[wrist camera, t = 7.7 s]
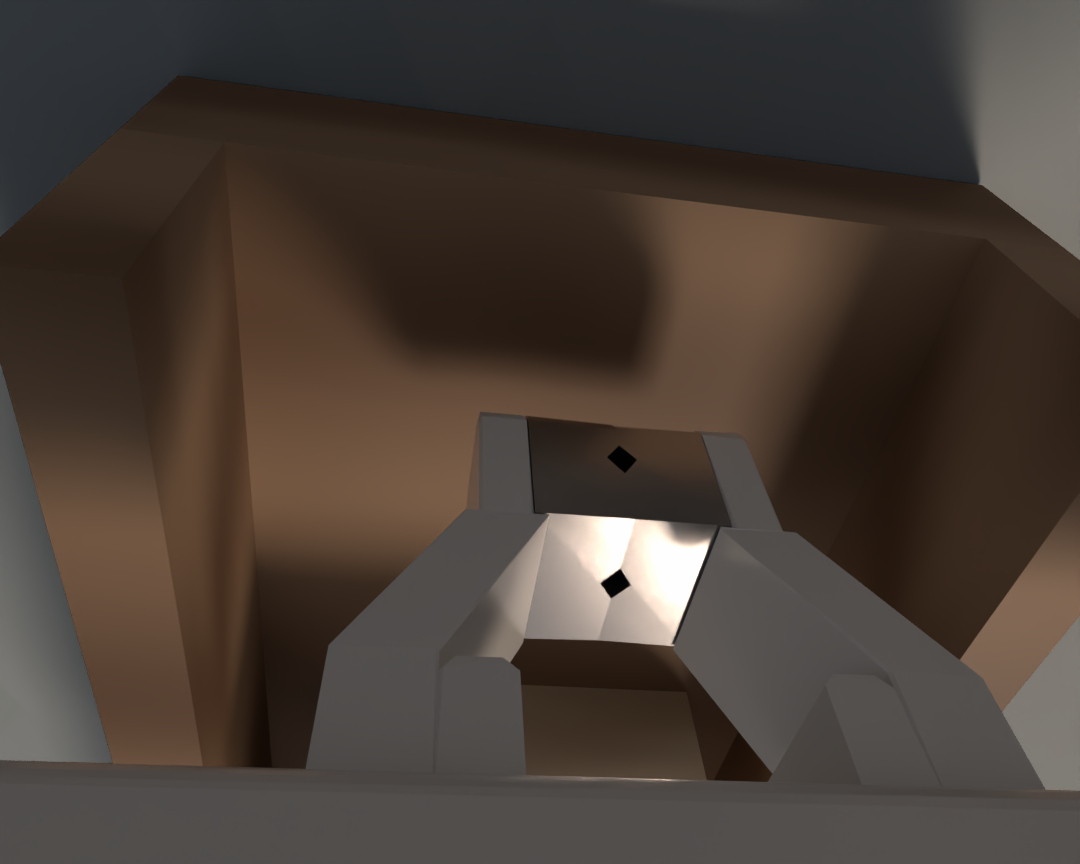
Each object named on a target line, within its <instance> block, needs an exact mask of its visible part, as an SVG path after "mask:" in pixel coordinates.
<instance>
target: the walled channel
mask: <svg viewBox="0 0 1080 864" xmlns="http://www.w3.org/2000/svg"><path fill="white" fill-rule="evenodd" d="M0 363H1V366H2V370H3V373H4V377H5V380H6V384H7V388H8V391H9V395H10V398H11V402H12V405H13V409H14V412H15V416H16V420H17V423H18V427H19V430H20V434H21V437H22V441H23V444H24V448H25V452H26V455H27V459H28V462H29V466H30V469H31V473H32V476H33V480H34V484H35V487H36V491H37V494H38V498H39V501H40V505H41V508H42V512H43V516H44V519H45V523H46V526H47V530H48V533H49V537H50V540H51V544H52V548H53V551H54V555H55V558H56V562H57V565H58V569H59V573H60V576H61V580H62V583H63V587H64V590H65V594H66V597H67V601H68V605H69V608H70V612H71V615H72V619H73V622H74V626H75V629H76V633H77V637H78V640H79V644H80V647H81V651H82V654H83V658H84V661H85V665H86V669H87V672H88V676H89V679H90V683H91V686H92V690H93V693H94V697H95V701H96V704H97V708H98V711H99V715H100V718H101V722H102V725H103V729H104V733H105V736H106V740H107V743H108V747H109V750H110V754H111V757H112V761H113V763H117V764H153V765H188V766H223V767H258V768H294V769H305V768H306V763H307V758H308V752H309V747H310V742H311V736H312V731H313V726H314V720H315V715H316V710H317V704H318V699H319V694H320V688H321V683H322V677H323V672H324V667H325V661H326V656H327V651H328V645H329V644H330V643H331V642H332V641H333V640H334V639H335V638H336V637H337V636H338V635H339V634H340V633H341V632H342V631H343V630H344V629H345V628H346V627H347V626H348V625H349V624H350V623H351V622H352V621H353V620H354V619H355V618H356V617H357V616H358V615H359V614H360V613H361V612H362V611H363V610H364V609H365V608H366V607H367V606H368V605H369V604H370V603H371V602H372V601H373V600H374V599H375V598H377V597H378V596H379V595H380V594H381V593H382V592H383V591H384V590H385V589H386V588H387V587H388V586H389V585H390V584H391V583H392V582H393V581H394V580H395V579H396V578H397V577H398V576H399V575H400V574H401V573H402V572H403V571H404V570H405V569H406V568H407V567H408V566H409V565H410V564H411V563H412V562H413V561H414V560H415V559H416V558H417V557H418V556H419V555H420V554H421V553H422V552H423V551H424V550H425V549H426V548H427V547H428V546H429V545H430V544H431V543H432V542H433V541H434V540H435V539H436V538H437V537H438V536H439V535H440V534H441V533H442V532H443V531H444V530H445V529H446V528H447V527H448V526H449V525H450V524H451V523H452V522H453V521H454V520H455V519H456V518H457V517H458V516H459V515H460V514H461V513H462V512H463V511H464V510H465V509H466V505H467V494H468V486H469V478H470V471H471V463H472V456H473V448H474V441H475V433H476V426H477V420H478V417H479V413H480V412H491V413H502V414H513V415H523V416H524V417H525V416H534V417H543V418H552V419H562V420H571V421H580V422H589V423H599V424H608V425H612V426H621V427H633V428H646V429H659V430H672V431H684V432H695V431H703V432H721V433H738V434H739V435H740V436H742V437H743V438H744V439H745V442H746V444H747V446H748V449H749V451H750V453H751V456H752V458H753V461H754V463H755V465H756V468H757V470H758V472H759V475H760V477H761V480H762V482H763V484H764V487H765V489H766V492H767V494H768V496H769V499H770V501H771V503H772V506H773V508H774V511H775V513H776V515H777V518H778V520H779V522H780V525H781V527H782V530H783V531H784V532H796V533H797V534H799V535H800V536H801V537H802V538H804V539H805V540H806V541H808V542H809V543H810V544H811V545H813V546H814V547H815V548H817V549H818V550H819V551H820V552H822V553H823V554H824V555H826V556H827V557H828V558H829V559H831V560H832V561H833V562H835V563H836V564H837V565H838V566H840V567H841V568H842V569H843V570H845V571H846V572H847V573H849V574H850V575H851V576H852V577H854V578H855V579H856V580H858V581H859V582H860V583H861V584H863V585H864V586H865V587H867V588H868V589H869V590H870V591H872V592H873V593H874V594H876V595H877V596H878V597H879V598H881V599H882V600H883V601H884V602H886V603H887V604H888V605H890V606H891V607H892V608H893V609H895V610H896V611H897V612H899V613H900V614H901V615H902V616H904V617H905V618H906V619H908V620H909V621H910V622H911V623H913V624H914V625H915V626H917V627H918V628H919V629H920V630H922V631H923V632H924V633H925V634H927V635H928V636H929V637H931V638H932V639H933V640H934V641H936V642H937V643H938V644H940V645H941V646H942V647H943V648H945V649H946V650H947V651H949V652H950V653H951V654H952V655H954V656H955V657H956V658H958V659H959V660H960V661H961V662H963V663H964V664H965V665H966V666H968V667H969V668H970V669H972V670H973V671H974V672H975V673H977V674H978V675H979V676H981V677H982V678H983V680H984V681H985V683H986V685H987V687H988V689H989V690H990V692H991V694H992V696H993V697H994V699H995V701H996V703H997V704H998V706H999V708H1000V710H1001V712H1002V711H1003V710H1004V708H1005V707H1006V706H1007V705H1008V703H1009V702H1010V701H1011V700H1012V699H1013V697H1014V696H1015V695H1016V694H1017V692H1018V691H1019V690H1020V689H1021V687H1022V686H1023V685H1024V684H1025V682H1026V681H1027V680H1028V679H1029V678H1030V676H1031V675H1032V674H1033V673H1034V671H1035V670H1036V669H1037V668H1038V666H1039V665H1040V664H1041V663H1042V661H1043V660H1044V659H1045V658H1046V657H1047V655H1048V654H1049V653H1050V652H1051V650H1052V649H1053V648H1054V647H1055V645H1056V644H1057V643H1058V642H1059V641H1060V639H1061V638H1062V637H1063V636H1064V634H1065V633H1066V632H1067V631H1068V629H1069V628H1070V627H1071V626H1072V624H1073V623H1074V622H1075V621H1076V620H1077V618H1078V617H1079V616H1080V260H1079V259H1077V258H1076V257H1075V256H1074V255H1072V254H1071V253H1070V252H1068V251H1067V250H1066V249H1064V248H1063V247H1062V246H1061V245H1059V244H1058V243H1057V242H1055V241H1054V240H1053V239H1051V238H1050V237H1049V236H1048V235H1046V234H1045V233H1044V232H1042V231H1041V230H1040V229H1038V228H1037V227H1036V226H1035V225H1033V224H1032V223H1031V222H1029V221H1028V220H1027V219H1025V218H1024V217H1023V216H1022V215H1020V214H1019V213H1018V212H1016V211H1015V210H1014V209H1012V208H1011V207H1010V206H1009V205H1007V204H1006V203H1005V202H1003V201H1002V200H1001V199H999V198H998V197H997V196H996V195H994V194H993V193H992V192H990V191H989V190H988V189H986V188H985V187H984V186H983V185H976V184H968V183H961V182H954V181H946V180H939V179H932V178H925V177H917V176H910V175H903V174H895V173H888V172H881V171H873V170H866V169H859V168H851V167H844V166H837V165H829V164H822V163H815V162H807V161H800V160H793V159H785V158H778V157H771V156H763V155H756V154H749V153H742V152H734V151H727V150H720V149H712V148H705V147H698V146H690V145H683V144H676V143H668V142H661V141H654V140H646V139H639V138H632V137H624V136H617V135H610V134H602V133H595V132H588V131H580V130H573V129H566V128H559V127H551V126H544V125H537V124H529V123H522V122H515V121H507V120H500V119H493V118H485V117H478V116H471V115H463V114H456V113H449V112H441V111H434V110H427V109H419V108H412V107H405V106H398V105H390V104H383V103H376V102H368V101H361V100H354V99H346V98H339V97H332V96H324V95H317V94H310V93H302V92H295V91H288V90H280V89H273V88H266V87H258V86H251V85H244V84H236V83H229V82H222V81H215V80H207V79H200V78H193V77H185V76H177V77H176V78H175V79H174V80H173V81H172V82H170V83H169V84H168V85H167V86H166V87H165V88H164V89H163V90H162V91H161V92H159V93H158V94H157V95H156V96H155V97H154V98H153V99H152V100H151V101H150V102H149V103H147V104H146V105H145V106H144V107H143V108H142V109H141V110H140V111H139V112H138V113H136V114H135V115H134V116H133V117H132V118H131V119H130V120H129V121H128V122H127V123H125V124H124V125H123V126H122V127H121V128H120V129H119V130H118V131H117V132H116V133H114V134H113V135H112V136H111V137H110V138H109V139H108V140H107V141H106V142H105V143H103V144H102V145H101V146H100V147H99V148H98V149H97V150H96V151H95V152H94V153H92V154H91V155H90V156H89V157H88V158H87V159H86V160H85V161H84V162H83V163H81V164H80V165H79V166H78V167H77V168H76V169H75V170H74V171H73V172H72V173H71V174H69V175H68V176H67V177H66V178H65V179H64V180H63V181H62V182H61V183H60V184H58V185H57V186H56V187H55V188H54V189H53V190H52V191H51V192H50V193H49V194H47V195H46V196H45V197H44V198H43V199H42V200H41V201H40V202H39V203H38V204H36V205H35V206H34V207H33V208H32V209H31V210H30V211H29V212H28V213H27V214H25V215H24V216H23V217H22V218H21V219H20V220H19V221H18V222H17V223H16V224H14V225H13V226H12V227H11V228H10V229H9V230H8V231H7V232H6V233H5V234H3V235H2V236H1V237H0ZM673 648H674V646H666V645H653V644H640V643H627V642H614V641H601V640H569V639H526V638H524V640H523V644H522V645H521V647H520V648H519V650H518V651H517V653H516V654H515V656H514V657H513V659H512V660H511V662H510V663H511V664H512V665H513V666H515V667H516V668H517V669H519V670H520V676H521V685H537V686H560V687H582V688H605V689H627V690H650V691H673V692H687V696H688V701H689V705H690V709H691V714H692V718H693V722H694V727H695V731H696V735H697V740H698V744H699V748H700V753H701V757H702V761H703V766H704V770H705V774H706V779H707V780H714V781H748V782H768V781H769V779H770V777H771V776H772V773H771V771H770V770H769V769H768V768H767V766H766V765H765V764H764V763H763V761H762V760H761V759H760V758H759V756H758V755H757V754H756V753H755V751H754V750H753V749H752V748H751V746H750V745H749V744H748V743H747V741H746V740H745V739H744V738H743V736H742V735H741V734H740V733H739V731H738V730H737V729H736V728H735V726H734V725H733V724H732V723H731V721H730V720H729V719H728V718H727V716H726V715H725V714H724V713H723V711H722V710H721V709H720V708H719V706H718V705H717V704H716V703H715V701H714V700H713V699H712V698H711V696H710V695H709V694H708V693H707V691H706V690H705V689H704V688H703V686H702V685H701V684H700V683H699V682H698V680H697V679H696V678H695V677H694V675H693V674H692V673H691V672H690V670H689V669H688V668H687V667H686V665H685V664H684V663H683V662H682V660H681V659H680V658H679V657H678V655H677V654H676V653H675V652H674V650H673Z"/></svg>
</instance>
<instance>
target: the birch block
mask: <svg viewBox="0 0 1080 864" xmlns="http://www.w3.org/2000/svg"><path fill="white" fill-rule="evenodd" d="M521 694H522V711H523V729H524V747H525V764H526V775H540V776H575V777H610V778H644V779H679V780H707V779H706V774H705V770H704V766H703V761H702V757H701V753H700V748H699V744H698V740H697V735H696V731H695V727H694V722H693V718H692V714H691V709H690V705H689V701H688V696H687V692H673V691H650V690H627V689H605V688H582V687H560V686H537V685H521Z"/></svg>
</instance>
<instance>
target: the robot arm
mask: <svg viewBox="0 0 1080 864" xmlns="http://www.w3.org/2000/svg"><path fill="white" fill-rule="evenodd" d="M524 638H526V639H569V640H601V641H614V642H627V643H640V644H653V645H666V646H674V648H673V650H674V652H675V653H676V654H677V655H678V657H679V658H680V659H681V660H682V662H683V663H684V664H685V665H686V667H687V668H688V669H689V670H690V672H691V673H692V674H693V675H694V677H695V678H696V679H697V680H698V682H699V683H700V684H701V685H702V686H703V688H704V689H705V690H706V691H707V693H708V694H709V695H710V696H711V698H712V699H713V700H714V701H715V703H716V704H717V705H718V706H719V708H720V709H721V710H722V711H723V713H724V714H725V715H726V716H727V718H728V719H729V720H730V721H731V723H732V724H733V725H734V726H735V728H736V729H737V730H738V731H739V733H740V734H741V735H742V736H743V738H744V739H745V740H746V741H747V743H748V744H749V745H750V746H751V748H752V749H753V750H754V751H755V753H756V754H757V755H758V756H759V758H760V759H761V760H762V761H763V763H764V764H765V765H766V766H767V768H768V769H769V770H770V771H771V773H772V776H771V777H770V779H769V781H768V782H748V781H714V780H679V779H644V778H610V777H575V776H540V775H526V764H525V747H524V729H523V711H522V694H521V676H520V670H519V669H517V668H516V667H515V666H513V665H512V664H511V663H510V662H511V660H512V659H513V657H514V656H515V654H516V653H517V651H518V650H519V648H520V647H521V645H522V644H523V640H524ZM0 864H1080V791H1070V790H1045V788H1044V786H1043V784H1042V782H1041V781H1040V779H1039V777H1038V775H1037V774H1036V772H1035V770H1034V768H1033V766H1032V765H1031V763H1030V761H1029V759H1028V758H1027V756H1026V754H1025V752H1024V751H1023V749H1022V747H1021V745H1020V743H1019V742H1018V740H1017V738H1016V736H1015V735H1014V733H1013V731H1012V729H1011V728H1010V726H1009V724H1008V722H1007V720H1006V719H1005V717H1004V715H1003V713H1002V712H1001V710H1000V708H999V706H998V704H997V703H996V701H995V699H994V697H993V696H992V694H991V692H990V690H989V689H988V687H987V685H986V683H985V681H984V680H983V678H982V677H981V676H979V675H978V674H977V673H975V672H974V671H973V670H972V669H970V668H969V667H968V666H966V665H965V664H964V663H963V662H961V661H960V660H959V659H958V658H956V657H955V656H954V655H952V654H951V653H950V652H949V651H947V650H946V649H945V648H943V647H942V646H941V645H940V644H938V643H937V642H936V641H934V640H933V639H932V638H931V637H929V636H928V635H927V634H925V633H924V632H923V631H922V630H920V629H919V628H918V627H917V626H915V625H914V624H913V623H911V622H910V621H909V620H908V619H906V618H905V617H904V616H902V615H901V614H900V613H899V612H897V611H896V610H895V609H893V608H892V607H891V606H890V605H888V604H887V603H886V602H884V601H883V600H882V599H881V598H879V597H878V596H877V595H876V594H874V593H873V592H872V591H870V590H869V589H868V588H867V587H865V586H864V585H863V584H861V583H860V582H859V581H858V580H856V579H855V578H854V577H852V576H851V575H850V574H849V573H847V572H846V571H845V570H843V569H842V568H841V567H840V566H838V565H837V564H836V563H835V562H833V561H832V560H831V559H829V558H828V557H827V556H826V555H824V554H823V553H822V552H820V551H819V550H818V549H817V548H815V547H814V546H813V545H811V544H810V543H809V542H808V541H806V540H805V539H804V538H802V537H801V536H800V535H799V534H797V533H796V532H784V531H783V530H782V527H781V525H780V522H779V520H778V518H777V515H776V513H775V511H774V508H773V506H772V503H771V501H770V499H769V496H768V494H767V492H766V489H765V487H764V484H763V482H762V480H761V477H760V475H759V472H758V470H757V468H756V465H755V463H754V461H753V458H752V456H751V453H750V451H749V449H748V446H747V444H746V442H745V439H744V438H743V437H742V436H740V435H739V434H738V433H721V432H703V431H695V432H684V431H672V430H659V429H646V428H633V427H621V426H612V425H608V424H599V423H589V422H580V421H571V420H562V419H552V418H543V417H534V416H525V417H524V416H523V415H513V414H502V413H491V412H480V413H479V417H478V420H477V426H476V433H475V441H474V448H473V456H472V463H471V471H470V478H469V486H468V494H467V505H466V509H465V510H464V511H463V512H462V513H461V514H460V515H459V516H458V517H457V518H456V519H455V520H454V521H453V522H452V523H451V524H450V525H449V526H448V527H447V528H446V529H445V530H444V531H443V532H442V533H441V534H440V535H439V536H438V537H437V538H436V539H435V540H434V541H433V542H432V543H431V544H430V545H429V546H428V547H427V548H426V549H425V550H424V551H423V552H422V553H421V554H420V555H419V556H418V557H417V558H416V559H415V560H414V561H413V562H412V563H411V564H410V565H409V566H408V567H407V568H406V569H405V570H404V571H403V572H402V573H401V574H400V575H399V576H398V577H397V578H396V579H395V580H394V581H393V582H392V583H391V584H390V585H389V586H388V587H387V588H386V589H385V590H384V591H383V592H382V593H381V594H380V595H379V596H378V597H377V598H375V599H374V600H373V601H372V602H371V603H370V604H369V605H368V606H367V607H366V608H365V609H364V610H363V611H362V612H361V613H360V614H359V615H358V616H357V617H356V618H355V619H354V620H353V621H352V622H351V623H350V624H349V625H348V626H347V627H346V628H345V629H344V630H343V631H342V632H341V633H340V634H339V635H338V636H337V637H336V638H335V639H334V640H333V641H332V642H331V643H330V644H329V645H328V651H327V656H326V661H325V667H324V672H323V677H322V683H321V688H320V694H319V699H318V704H317V710H316V715H315V720H314V726H313V731H312V736H311V742H310V747H309V752H308V758H307V763H306V768H305V769H294V768H258V767H223V766H188V765H153V764H117V763H82V762H47V761H11V760H0Z"/></svg>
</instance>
